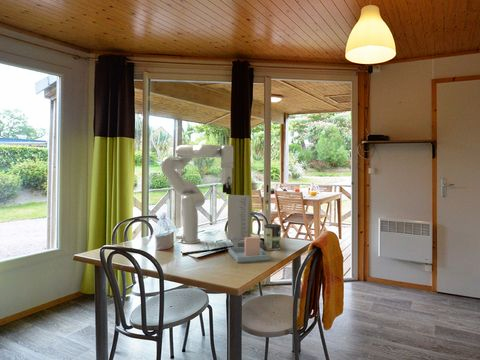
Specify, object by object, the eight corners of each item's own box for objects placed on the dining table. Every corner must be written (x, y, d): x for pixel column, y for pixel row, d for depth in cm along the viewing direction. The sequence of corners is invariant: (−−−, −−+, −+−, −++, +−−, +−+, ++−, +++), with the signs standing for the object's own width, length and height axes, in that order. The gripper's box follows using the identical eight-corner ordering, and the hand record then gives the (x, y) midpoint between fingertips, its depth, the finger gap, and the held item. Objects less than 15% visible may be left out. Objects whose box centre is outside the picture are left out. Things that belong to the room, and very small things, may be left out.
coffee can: (281, 246, 211) (281, 224, 210) (279, 250, 201) (280, 227, 200) (265, 245, 213) (265, 223, 212) (262, 249, 203) (263, 226, 202)
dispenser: (237, 251, 198) (237, 241, 197) (232, 246, 209) (232, 237, 209) (263, 249, 202) (263, 240, 202) (256, 245, 213) (257, 236, 213)
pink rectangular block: (245, 256, 185) (246, 238, 184) (244, 255, 188) (244, 237, 187) (259, 255, 187) (259, 237, 186) (258, 254, 190) (258, 236, 189)
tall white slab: (227, 239, 228) (228, 195, 227) (230, 237, 234) (230, 194, 232) (247, 241, 224) (248, 196, 223) (249, 239, 230) (250, 195, 228)
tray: (237, 262, 175) (237, 257, 175) (228, 252, 194) (228, 247, 194) (269, 260, 180) (269, 255, 180) (257, 251, 199) (258, 246, 199)
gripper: (218, 165, 213) (218, 192, 214) (224, 165, 196) (224, 194, 197) (229, 165, 215) (229, 192, 216) (236, 165, 198) (236, 194, 199)
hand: (226, 193), depth 206 cm, fingers open, 9 cm apart
